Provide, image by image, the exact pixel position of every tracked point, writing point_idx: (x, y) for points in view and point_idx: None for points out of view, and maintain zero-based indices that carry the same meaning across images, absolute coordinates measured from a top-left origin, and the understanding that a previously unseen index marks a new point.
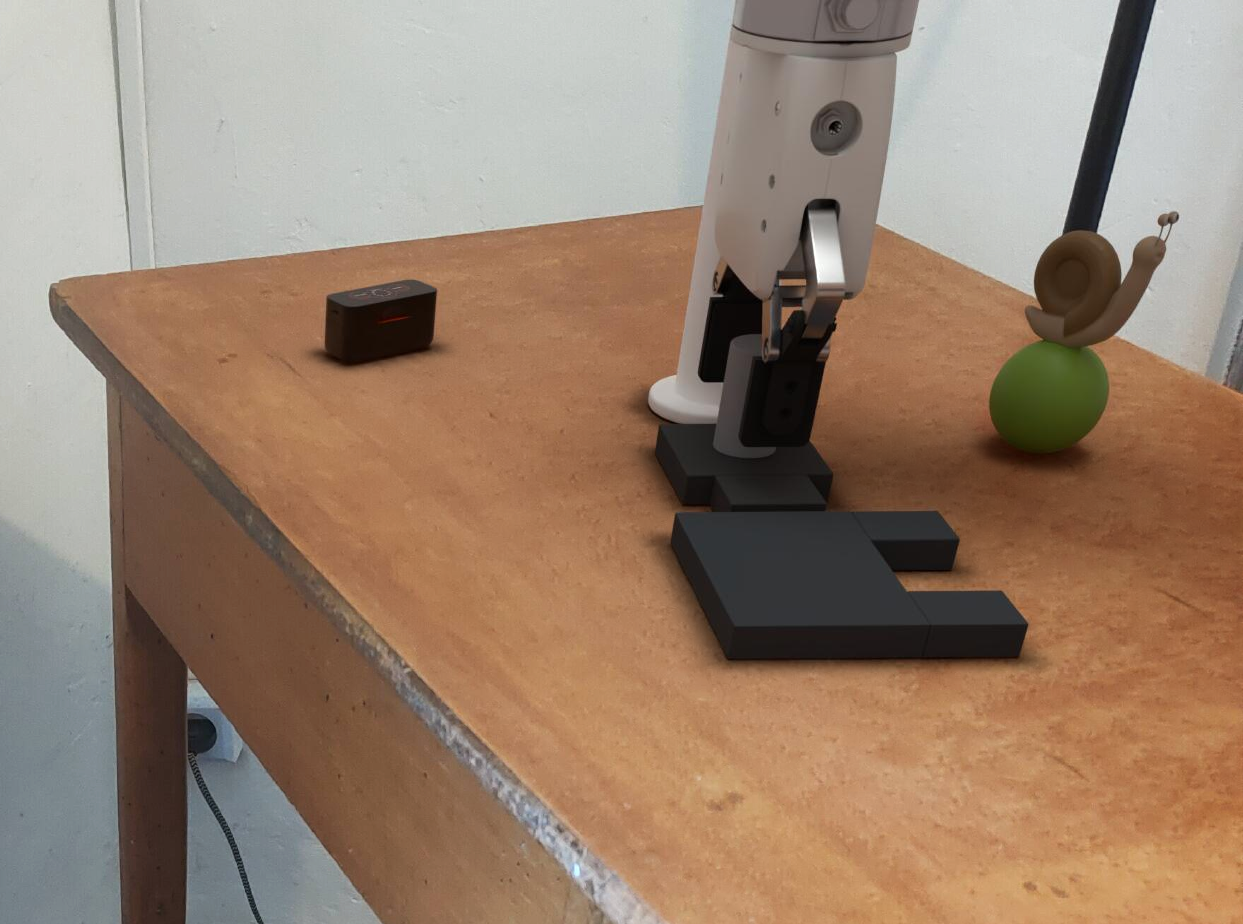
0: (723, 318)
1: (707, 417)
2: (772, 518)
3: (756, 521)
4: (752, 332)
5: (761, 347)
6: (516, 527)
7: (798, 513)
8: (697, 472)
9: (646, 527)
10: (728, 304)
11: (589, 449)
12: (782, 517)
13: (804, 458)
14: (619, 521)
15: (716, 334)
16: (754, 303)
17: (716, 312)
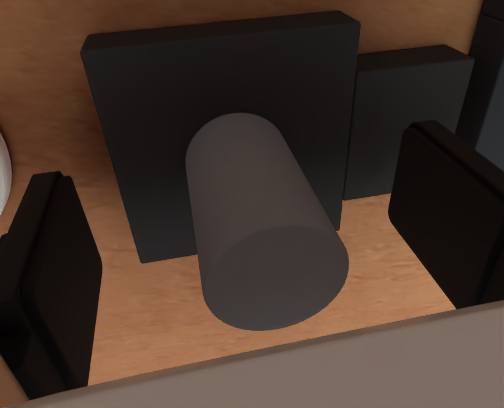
0: (82, 351)
1: (6, 183)
2: (501, 142)
3: (501, 161)
4: (63, 272)
5: (303, 285)
6: (360, 328)
7: (498, 107)
8: (332, 220)
9: (379, 238)
10: (74, 377)
11: (140, 297)
12: (501, 129)
13: (286, 67)
14: (359, 260)
15: (88, 326)
16: (48, 336)
17: (87, 375)
